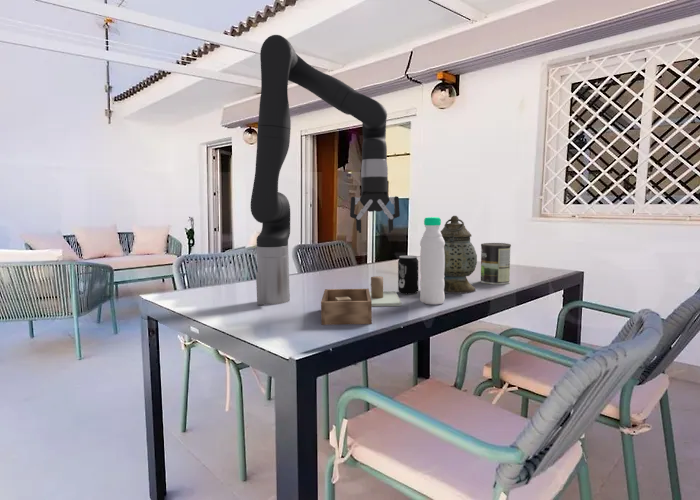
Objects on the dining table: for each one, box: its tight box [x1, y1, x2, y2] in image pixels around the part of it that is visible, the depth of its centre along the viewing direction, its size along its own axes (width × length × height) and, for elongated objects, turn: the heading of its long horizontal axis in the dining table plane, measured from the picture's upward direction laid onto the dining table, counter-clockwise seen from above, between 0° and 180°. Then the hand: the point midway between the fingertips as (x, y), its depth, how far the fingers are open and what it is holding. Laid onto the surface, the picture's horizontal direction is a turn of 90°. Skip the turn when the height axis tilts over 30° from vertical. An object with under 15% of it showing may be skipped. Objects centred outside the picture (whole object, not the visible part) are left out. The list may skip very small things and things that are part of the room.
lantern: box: [440, 215, 478, 295], centre depth 142 cm, size 14×14×25 cm
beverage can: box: [397, 254, 419, 295], centre depth 140 cm, size 7×7×12 cm
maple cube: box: [335, 296, 351, 301], centre depth 114 cm, size 4×4×4 cm
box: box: [320, 288, 373, 326], centre depth 109 cm, size 12×16×6 cm
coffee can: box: [480, 242, 512, 286], centre depth 155 cm, size 10×10×14 cm
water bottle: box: [419, 216, 445, 306], centre depth 124 cm, size 7×7×25 cm
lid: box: [369, 275, 403, 307], centre depth 127 cm, size 13×17×8 cm
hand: (374, 232), depth 124 cm, fingers open, 8 cm apart
